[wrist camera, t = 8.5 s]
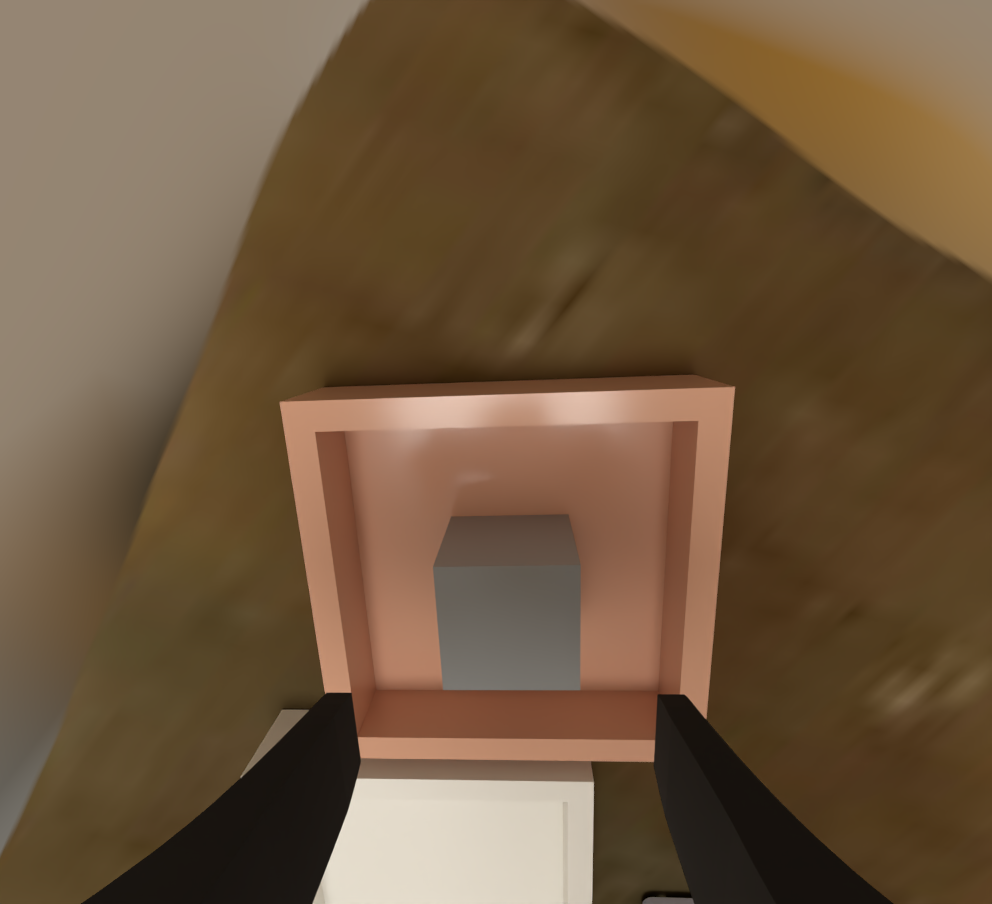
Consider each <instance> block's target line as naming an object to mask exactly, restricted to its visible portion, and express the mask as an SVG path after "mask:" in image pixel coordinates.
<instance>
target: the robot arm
mask: <svg viewBox="0 0 992 904" xmlns="http://www.w3.org/2000/svg"><path fill="white" fill-rule="evenodd" d="M360 764H361V757H360V750H359V743H358V735H357V728H356V721H355V714H354V706H353V699H352V693H326V694H325V695H324V696H323V697H322V698H321V699H320V700H319V701H318V702H317V703H316V704H315V705H314V706H313V707H312V708H311V709H310V710H309V711H308V712H307V713H306V714H305V715H304V716H303V717H302V718H301V719H300V720H299V721H298V722H297V723H296V724H295V725H294V726H293V727H292V728H291V729H290V730H289V731H288V732H287V733H286V734H285V735H284V736H283V737H282V738H281V739H280V740H279V741H278V742H277V743H276V744H275V745H274V746H273V747H272V748H271V749H270V750H269V751H268V752H267V753H266V754H265V755H264V756H263V757H262V758H261V759H260V760H259V761H258V762H257V763H256V764H255V765H254V766H253V767H252V768H251V769H250V770H249V771H248V772H247V773H246V774H245V775H243V776H242V777H241V778H240V779H239V780H238V781H237V782H236V783H235V784H234V785H233V786H231V787H230V788H229V789H228V790H227V791H226V792H225V793H224V794H223V795H222V796H221V797H219V798H218V799H217V800H216V801H215V802H214V803H213V804H212V805H211V806H209V807H208V808H207V809H206V810H205V811H204V812H202V813H201V814H200V815H199V816H198V817H196V818H195V819H194V820H193V821H192V822H190V823H189V824H188V825H187V826H186V827H184V828H183V829H182V830H181V831H179V832H178V833H177V834H176V835H174V836H173V837H172V838H171V839H169V840H168V841H167V842H166V843H164V844H163V845H162V846H160V847H159V848H158V849H157V850H155V851H154V852H153V853H151V854H150V855H149V856H147V857H146V858H144V859H143V860H142V861H140V862H139V863H138V864H136V865H135V866H133V867H132V868H131V869H129V870H128V871H127V872H125V873H124V874H122V875H121V876H120V877H118V878H117V879H115V880H114V881H113V882H111V883H110V884H109V885H107V886H106V887H104V888H103V889H102V890H100V891H99V892H97V893H96V894H95V895H93V896H92V897H90V898H89V899H87V900H86V901H84V902H83V903H81V904H313V901H314V899H315V896H316V893H317V891H318V888H319V886H320V883H321V880H322V878H323V875H324V873H325V870H326V867H327V865H328V862H329V860H330V857H331V855H332V852H333V849H334V847H335V844H336V841H337V839H338V836H339V833H340V831H341V828H342V826H343V823H344V820H345V817H346V815H347V812H348V809H349V806H350V802H351V798H352V795H353V791H354V788H355V784H356V780H357V776H358V772H359V768H360ZM654 769H655V774H656V778H657V783H658V787H659V792H660V796H661V801H662V805H663V809H664V813H665V817H666V820H667V823H668V827H669V830H670V833H671V836H672V839H673V842H674V845H675V848H676V851H677V854H678V857H679V860H680V863H681V866H682V869H683V872H684V875H685V878H686V881H687V884H688V887H689V890H690V893H691V896H692V898H671V897H648V898H646V899H645V900H644V901H643V903H642V904H893V903H892V902H891V901H889V900H888V899H887V898H886V897H884V896H883V895H882V894H881V893H879V892H878V891H877V890H876V889H874V888H873V887H872V886H871V885H870V884H868V883H867V882H866V881H865V880H864V879H863V878H861V877H860V876H859V875H858V874H857V873H855V872H854V871H853V870H852V869H851V868H850V867H849V866H847V865H846V864H845V863H844V862H843V861H842V860H841V859H840V858H838V857H837V856H836V855H835V854H834V853H833V852H832V851H831V850H830V849H828V848H827V847H826V846H825V845H824V844H823V843H822V842H821V841H820V840H819V839H818V838H817V837H815V836H814V835H813V834H812V833H811V832H810V831H809V830H808V829H807V828H806V827H805V826H804V825H803V824H802V823H801V822H800V821H799V820H798V819H797V818H796V817H795V816H794V815H793V814H792V813H791V812H790V811H789V810H788V809H787V808H786V807H785V806H784V805H783V804H782V803H781V802H780V801H779V800H778V799H777V798H776V797H775V796H774V795H773V794H772V793H771V792H770V791H769V790H768V789H767V788H766V787H765V786H764V785H763V783H762V782H761V781H760V780H759V779H758V778H757V777H756V776H755V775H754V774H753V773H752V771H751V770H750V769H749V768H748V767H747V766H746V765H745V764H744V763H743V762H742V761H741V759H740V758H739V757H738V756H737V755H736V754H735V753H734V752H733V750H732V749H731V748H730V747H729V746H728V745H727V744H726V742H725V741H724V740H723V739H722V738H721V737H720V735H719V734H718V733H717V732H716V731H715V730H714V728H713V727H712V726H711V725H710V724H709V722H708V721H707V720H706V719H705V718H704V716H703V715H702V714H701V713H700V711H699V710H698V709H697V708H696V707H695V705H694V704H693V703H692V702H691V701H690V699H689V698H688V697H687V696H686V695H685V694H658V695H657V714H656V733H655V752H654Z"/></svg>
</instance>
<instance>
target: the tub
mask: <svg viewBox="0 0 992 904" xmlns="http://www.w3.org/2000/svg"><path fill="white" fill-rule="evenodd" d="M308 711H309V710H281V712H280V714H279V715H278V717H277V719H276V720H275V722H274V723H273V725H272V727H271V728H270V730H269V732H268V733H267V735H266V736H265V738H264V740H263V741H262V743H261V745H260V746H259V748H258V749H257V751H256V753H255V754H254V756H253V758H252V759H251V761H250V762H249V764H248V766H247V767H246V769H245V770H244V772H243V774H242V775H241V777H242V776H243V775H245V774H246V773H247V772H248V771H249V770H250V769H251V768H252V767H253V766H254V765H255V764H256V763H257V762H258V761H259V760H260V759H261V758H262V757H263V756H264V755H265V754H266V753H267V752H268V751H269V750H270V749H271V748H272V747H273V746H274V745H275V744H276V743H277V742H278V741H279V740H280V739H281V738H282V737H283V736H284V735H285V734H286V733H287V732H288V731H289V730H290V729H291V728H292V727H293V726H294V725H295V724H296V723H297V722H298V721H299V720H300V719H301V718H302V717H303V716H304V715H305V714H306V713H307V712H308ZM593 810H594V779H593V773H592V767H591V761H543V760H462V759H380V758H361V764H360V768H359V772H358V776H357V780H356V784H355V788H354V791H353V795H352V798H351V802H350V806H349V809H348V812H347V815H346V817H345V820H344V823H343V826H342V828H341V831H340V833H339V836H338V839H337V841H336V844H335V847H334V849H333V852H332V855H331V857H330V860H329V862H328V865H327V867H326V870H325V873H324V875H323V878H322V880H321V883H320V886H319V888H318V891H317V893H316V896H315V899H314V901H313V904H592V877H593Z"/></svg>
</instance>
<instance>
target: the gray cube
mask: <svg viewBox="0 0 992 904" xmlns="http://www.w3.org/2000/svg"><path fill="white" fill-rule="evenodd" d="M433 575H434V587H435V599H436V611H437V623H438V635H439V647H440V659H441V671H442V683H443V690H580V634H581V564H580V560H579V556H578V552H577V547H576V543H575V539H574V535H573V531H572V527H571V523H570V518H569V514H554V515H502V516H451V518H450V521H449V524H448V526H447V529H446V532H445V535H444V538H443V540H442V543H441V546H440V549H439V551H438V554H437V557H436V560H435V562H434V565H433Z"/></svg>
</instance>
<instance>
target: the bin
mask: <svg viewBox="0 0 992 904" xmlns="http://www.w3.org/2000/svg"><path fill="white" fill-rule="evenodd" d="M734 393H735V387H734V386H730V385H727V384H724V383H721V382H717V381H714V380H711V379H708V378H704V377H701V376H698V375H667V376H637V377H608V378H579V379H550V380H521V381H492V382H462V383H433V384H404V385H375V386H346V387H323V388H320V389H317V390H314V391H311V392H308V393H305V394H302V395H299V396H296V397H293V398H290V399H287V400H284V401H281V402H280V407H281V413H282V420H283V426H284V433H285V439H286V445H287V452H288V458H289V465H290V471H291V478H292V484H293V490H294V497H295V503H296V510H297V516H298V522H299V529H300V535H301V542H302V548H303V554H304V561H305V567H306V574H307V580H308V587H309V593H310V599H311V606H312V612H313V619H314V625H315V631H316V638H317V644H318V651H319V657H320V663H321V670H322V676H323V683H324V689H325V694H326V693H352V699H353V706H354V714H355V721H356V728H357V735H358V743H359V750H360V757H361V758H380V759H462V760H543V761H625V762H654V752H655V733H656V714H657V695H658V694H685V695H686V696H687V697H688V698H689V699H690V701H691V702H692V703H693V704H694V705H695V707H696V708H697V709H698V710H699V711H700V713H701V714H702V715H703V716H704V718H705V719H706V717H707V706H708V694H709V682H710V671H711V659H712V648H713V636H714V625H715V613H716V601H717V590H718V578H719V567H720V555H721V544H722V532H723V520H724V509H725V497H726V486H727V474H728V463H729V451H730V439H731V428H732V416H733V405H734ZM554 514H569V518H570V523H571V527H572V531H573V535H574V539H575V543H576V547H577V552H578V556H579V560H580V564H581V634H580V690H443V683H442V671H441V659H440V647H439V635H438V623H437V611H436V599H435V587H434V575H433V565H434V562H435V560H436V557H437V554H438V551H439V549H440V546H441V543H442V540H443V538H444V535H445V532H446V529H447V526H448V524H449V521H450V518H451V516H502V515H554Z"/></svg>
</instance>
